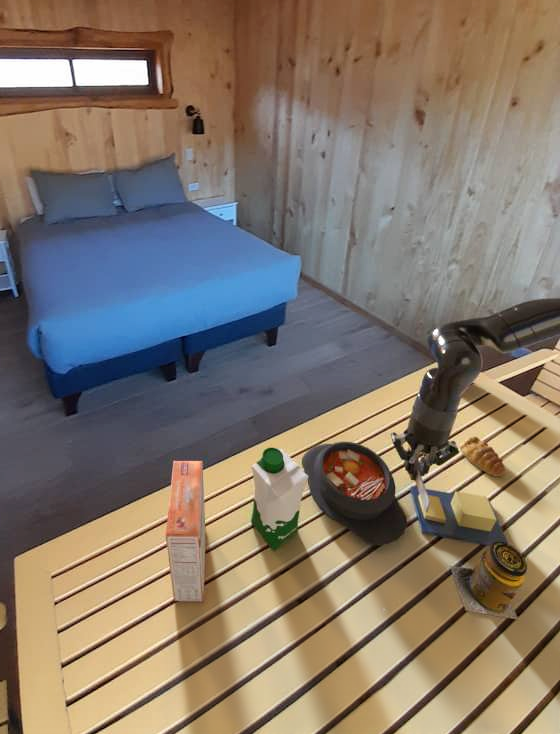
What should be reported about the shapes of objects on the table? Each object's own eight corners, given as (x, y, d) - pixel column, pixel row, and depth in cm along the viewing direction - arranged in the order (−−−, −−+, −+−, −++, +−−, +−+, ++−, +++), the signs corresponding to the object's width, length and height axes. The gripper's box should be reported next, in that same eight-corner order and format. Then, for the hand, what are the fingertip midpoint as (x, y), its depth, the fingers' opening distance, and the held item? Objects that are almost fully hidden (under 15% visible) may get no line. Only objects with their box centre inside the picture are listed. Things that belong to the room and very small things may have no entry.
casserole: (426, 525, 85) (435, 500, 81) (360, 568, 77) (368, 543, 74) (341, 438, 105) (345, 415, 101) (282, 466, 98) (285, 442, 94)
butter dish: (487, 502, 89) (494, 487, 86) (508, 549, 80) (516, 534, 78) (409, 489, 92) (414, 474, 90) (421, 533, 83) (427, 518, 81)
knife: (405, 463, 94) (407, 453, 93) (414, 464, 93) (416, 454, 92) (421, 511, 82) (424, 500, 81) (432, 513, 81) (435, 502, 80)
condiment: (517, 619, 70) (543, 582, 64) (465, 611, 71) (485, 573, 66) (497, 573, 76) (518, 536, 71) (449, 566, 78) (466, 529, 72)
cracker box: (178, 525, 86) (172, 458, 76) (206, 525, 85) (204, 459, 76) (171, 602, 73) (163, 534, 64) (204, 604, 73) (201, 536, 63)
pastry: (510, 472, 95) (516, 461, 93) (490, 482, 93) (495, 471, 91) (474, 442, 103) (478, 431, 101) (454, 450, 101) (458, 439, 99)
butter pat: (439, 497, 88) (419, 493, 88) (446, 519, 83) (425, 515, 84) (437, 500, 88) (418, 496, 89) (444, 523, 84) (424, 518, 85)
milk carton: (274, 499, 90) (281, 437, 81) (304, 533, 83) (315, 469, 74) (244, 521, 86) (247, 458, 77) (273, 559, 79) (280, 495, 70)
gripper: (400, 424, 80) (385, 481, 88) (477, 435, 77) (454, 492, 85) (393, 397, 87) (379, 452, 95) (463, 406, 84) (443, 462, 92)
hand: (414, 471), depth 90 cm, fingers closed on knife, 2 cm apart
